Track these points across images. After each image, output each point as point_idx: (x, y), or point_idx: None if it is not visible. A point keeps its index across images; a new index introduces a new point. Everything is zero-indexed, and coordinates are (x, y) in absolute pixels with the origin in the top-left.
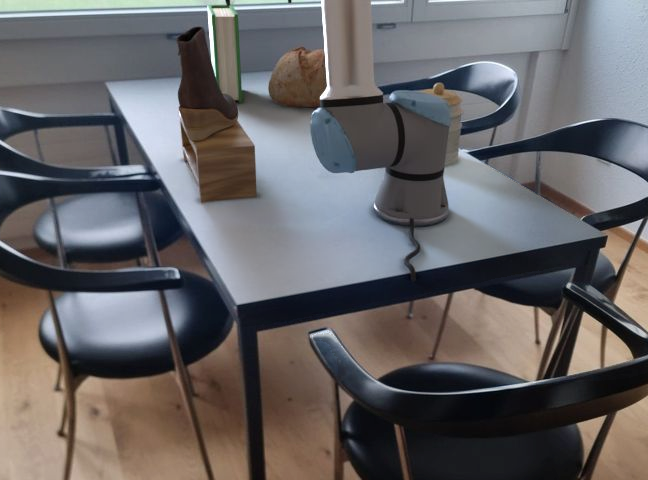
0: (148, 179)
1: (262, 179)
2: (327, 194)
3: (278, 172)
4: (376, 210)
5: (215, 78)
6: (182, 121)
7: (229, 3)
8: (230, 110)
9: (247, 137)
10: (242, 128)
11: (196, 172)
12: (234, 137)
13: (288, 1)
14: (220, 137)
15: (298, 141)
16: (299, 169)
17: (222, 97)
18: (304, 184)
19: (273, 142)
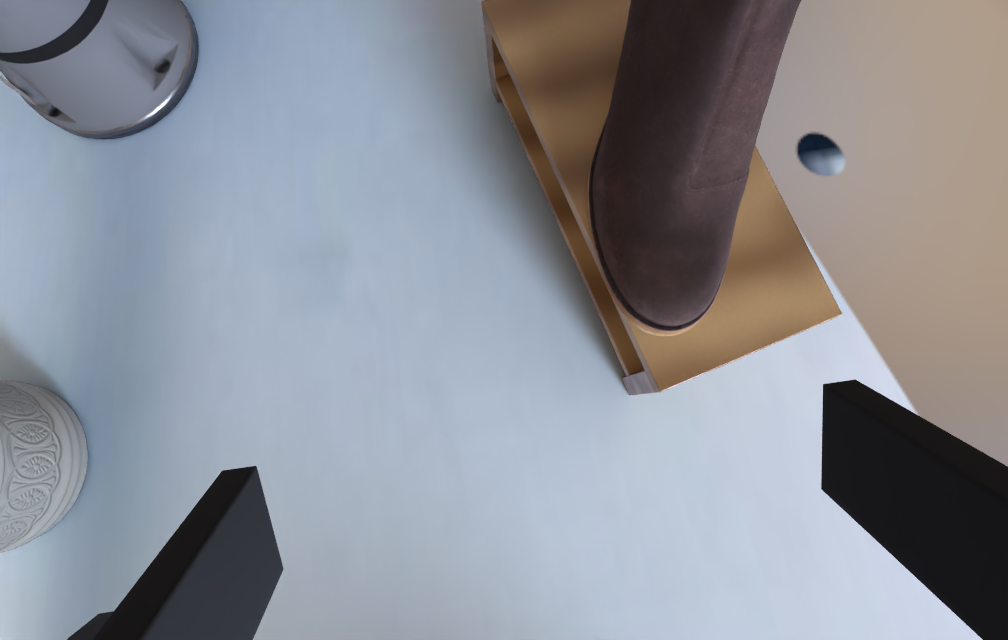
0: (811, 159)
1: (498, 209)
2: (315, 133)
3: (463, 269)
4: (188, 16)
5: (668, 24)
6: (792, 221)
7: (823, 438)
8: (603, 144)
9: (519, 71)
10: (555, 160)
11: None
12: (560, 64)
13: (267, 525)
14: (605, 56)
15: (440, 576)
16: (406, 303)
17: (629, 73)
18: (380, 191)
19: (523, 551)
